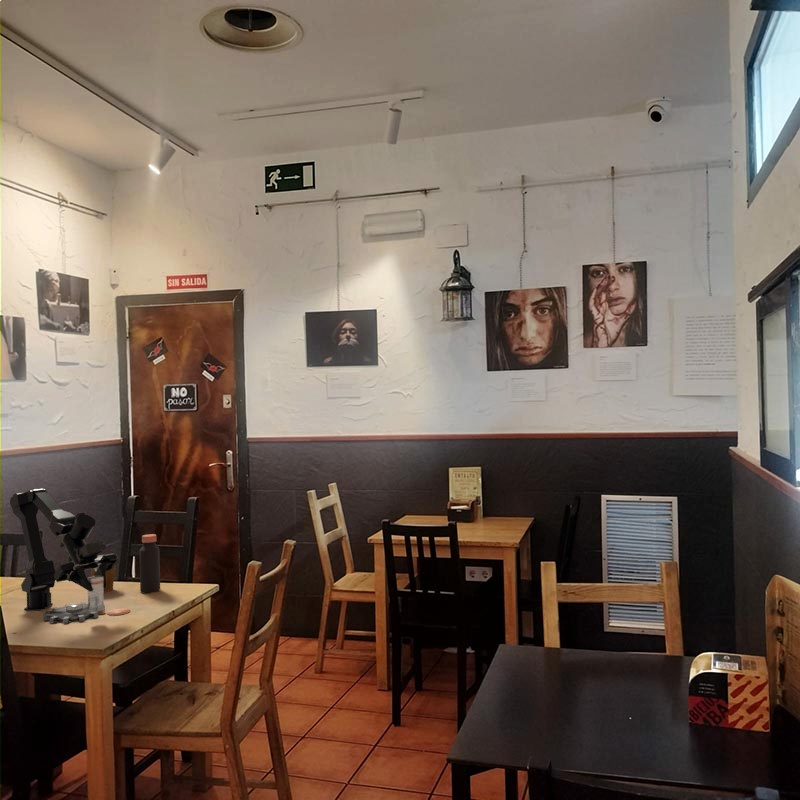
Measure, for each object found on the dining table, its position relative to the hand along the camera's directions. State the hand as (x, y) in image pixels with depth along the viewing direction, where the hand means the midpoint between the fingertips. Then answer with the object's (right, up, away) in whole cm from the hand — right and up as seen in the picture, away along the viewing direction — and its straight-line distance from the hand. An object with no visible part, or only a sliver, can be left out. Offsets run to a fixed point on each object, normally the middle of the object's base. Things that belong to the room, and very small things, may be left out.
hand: (98, 588), depth 221 cm
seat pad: (+1, -11, +13) cm, 17 cm away
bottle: (+3, -11, +39) cm, 40 cm away
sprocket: (-12, -11, +11) cm, 20 cm away
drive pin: (-1, -7, +1) cm, 7 cm away
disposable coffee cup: (-15, -12, +41) cm, 46 cm away
